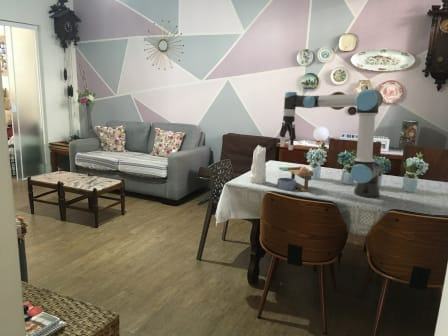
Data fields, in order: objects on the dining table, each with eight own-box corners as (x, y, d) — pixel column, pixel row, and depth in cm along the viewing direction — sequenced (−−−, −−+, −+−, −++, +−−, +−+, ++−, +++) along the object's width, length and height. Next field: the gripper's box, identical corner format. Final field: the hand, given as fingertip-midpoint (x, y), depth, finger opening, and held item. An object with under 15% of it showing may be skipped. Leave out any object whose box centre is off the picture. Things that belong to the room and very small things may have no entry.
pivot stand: (310, 191, 231) (311, 176, 229) (302, 191, 229) (303, 176, 227) (295, 183, 250) (296, 169, 247) (287, 183, 248) (288, 169, 246)
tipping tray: (312, 180, 232) (313, 171, 231) (294, 181, 228) (295, 172, 227) (295, 172, 253) (296, 164, 252) (278, 173, 250) (279, 164, 248)
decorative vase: (264, 184, 243) (267, 147, 238) (248, 182, 245) (251, 146, 240) (266, 180, 254) (268, 145, 249) (251, 179, 256) (253, 144, 251)
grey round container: (298, 189, 233) (298, 181, 232) (282, 190, 230) (283, 182, 229) (290, 185, 244) (290, 177, 242) (275, 186, 240) (275, 178, 239)
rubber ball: (307, 173, 234) (307, 167, 233) (301, 173, 233) (302, 167, 232) (304, 171, 238) (304, 165, 237) (298, 172, 237) (299, 166, 236)
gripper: (276, 114, 249) (273, 145, 253) (292, 117, 226) (289, 151, 231) (286, 114, 251) (283, 145, 255) (303, 117, 228) (300, 151, 233)
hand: (286, 148), depth 243 cm, fingers open, 12 cm apart
